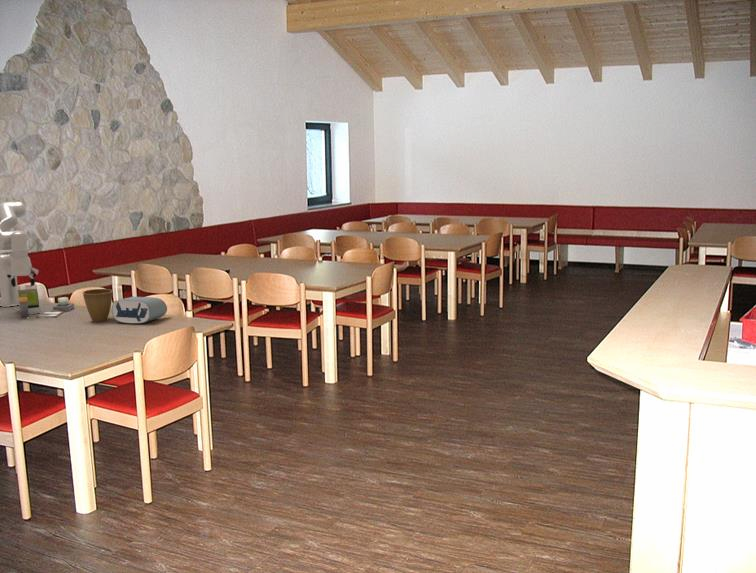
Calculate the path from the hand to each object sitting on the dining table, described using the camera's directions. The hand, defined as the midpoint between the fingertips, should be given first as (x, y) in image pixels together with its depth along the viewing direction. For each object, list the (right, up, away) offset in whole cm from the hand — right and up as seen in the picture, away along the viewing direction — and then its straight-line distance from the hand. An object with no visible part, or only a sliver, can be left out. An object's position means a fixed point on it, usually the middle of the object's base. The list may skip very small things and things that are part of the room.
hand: (23, 286), depth 414 cm
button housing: (+13, -14, +22) cm, 29 cm away
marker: (-1, -17, +3) cm, 18 cm away
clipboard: (+11, -16, +9) cm, 21 cm away
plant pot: (+44, -19, -7) cm, 49 cm away
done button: (+13, -11, +21) cm, 27 cm away
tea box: (-4, -15, +18) cm, 24 cm away
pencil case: (+67, -19, -8) cm, 70 cm away
